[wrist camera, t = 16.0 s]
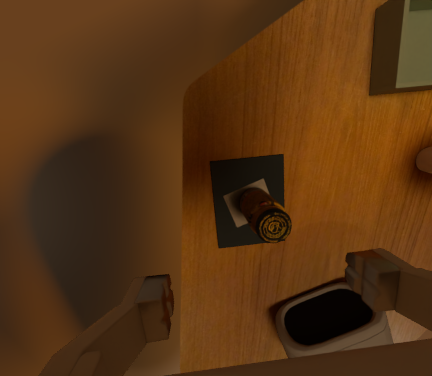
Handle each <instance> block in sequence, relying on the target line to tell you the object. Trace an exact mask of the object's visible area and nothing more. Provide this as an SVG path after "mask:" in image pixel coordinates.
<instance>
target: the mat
mask: <svg viewBox="0 0 432 376" xmlns="http://www.w3.org/2000/svg"><path fill="white" fill-rule="evenodd" d="M210 167H211V177H212V187H213V197H214V207H215V217H216V226H217V236H218V246H219V248H226V247H235V246H243V245H251V244H260V243H266V242H265V241H263V240H261V239H260V238H259V237H258V235H257V234H256V233H255V232H253V230H252V229H251V228H250V226H249V224H248V223H247V224H244V225H242V226H240V227H237V226H236V224H235V222H234V219H233V217H232V215H231V213H230V210H229V208H228V206H227V204H226V201H225V199H224V197H223V196H225V195H227V194H229V193H231V192H234V191H236V190H239V189H241V188H243V187H245V186H247V185H249V184H252V183H254V182H256V181H259V180H261V179H264V181H265V184H266V186H267V189H268V192H269V195H270V196H271V197H272V198H274V199H275V200H276V201H277V202H278V203H279V204H280V205H282V206H283V208H284V157H283V154H279V155H269V156H259V157H250V158H240V159H230V160H220V161H210ZM282 241H285V239H284V240H282Z"/></svg>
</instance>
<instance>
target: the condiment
mask: <svg viewBox="0 0 432 376" xmlns="http://www.w3.org/2000/svg"><path fill="white" fill-rule="evenodd" d="M223 197H224V199H225V201H226V204H227V206H228V208H229V210H230V213H231V215H232V217H233V219H234V222H235V224H236V226H237V227H240V226H242V225H244V224H247V223H248V224H249V226H250V228H251V229H252V230H253V232H255V233H256V234H257V235H258V237H259V238H260V239H261V240H263V241H265V242H266V243H278V242H280V241H282V240H284V239H285V238H286V237H287V236H288V235H289V234H290V231H291V227H292V225H291V220H290V217H289V215H288V214H287V213H286V211H285V209H284V208H283V206H282V205H280V204H279V203H278V202H277V201H276V200H275V199H274V198H272V197H271V196H270V195H269V192H268V189H267V186H266V184H265V181H264V179H261V180H259V181H256V182H254V183H252V184H249V185H247V186H245V187H243V188H241V189H239V190H236V191H234V192H231V193H229V194H227V195H225V196H223Z"/></svg>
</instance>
